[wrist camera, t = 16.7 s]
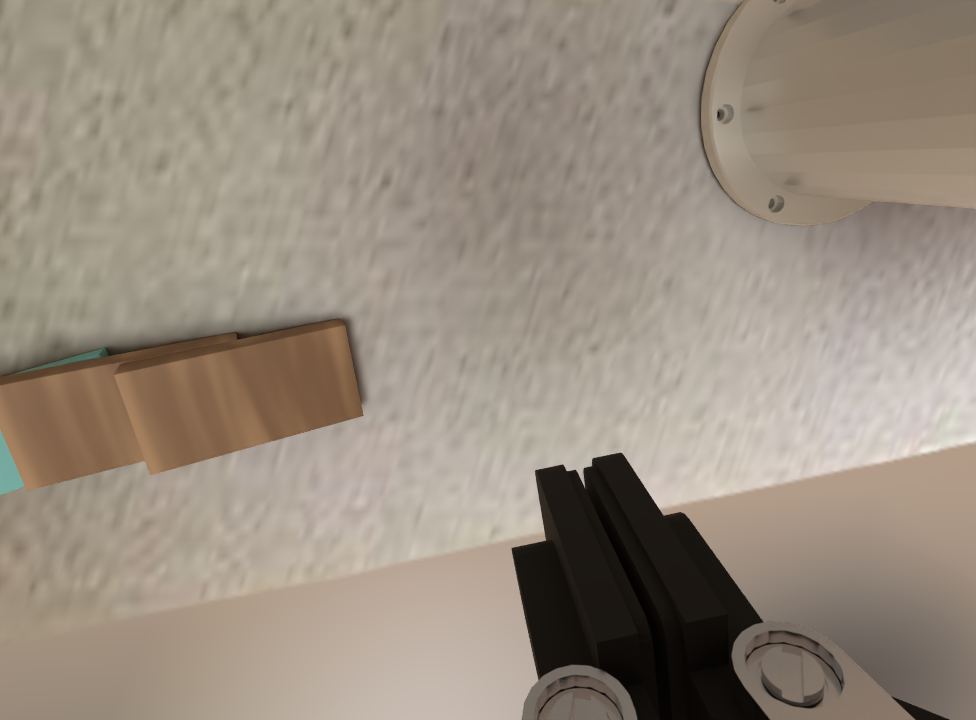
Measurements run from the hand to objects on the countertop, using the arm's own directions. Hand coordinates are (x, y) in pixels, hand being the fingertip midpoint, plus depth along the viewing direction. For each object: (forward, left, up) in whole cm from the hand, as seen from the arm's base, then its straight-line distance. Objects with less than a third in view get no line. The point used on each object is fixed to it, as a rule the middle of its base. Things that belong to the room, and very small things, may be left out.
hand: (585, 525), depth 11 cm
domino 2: (+7, +2, -19) cm, 21 cm away
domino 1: (+12, +2, -19) cm, 23 cm away
